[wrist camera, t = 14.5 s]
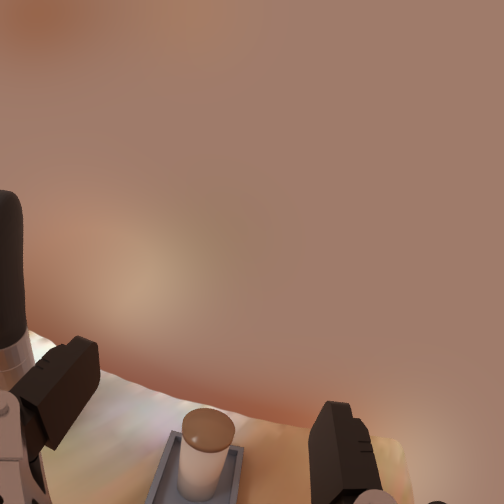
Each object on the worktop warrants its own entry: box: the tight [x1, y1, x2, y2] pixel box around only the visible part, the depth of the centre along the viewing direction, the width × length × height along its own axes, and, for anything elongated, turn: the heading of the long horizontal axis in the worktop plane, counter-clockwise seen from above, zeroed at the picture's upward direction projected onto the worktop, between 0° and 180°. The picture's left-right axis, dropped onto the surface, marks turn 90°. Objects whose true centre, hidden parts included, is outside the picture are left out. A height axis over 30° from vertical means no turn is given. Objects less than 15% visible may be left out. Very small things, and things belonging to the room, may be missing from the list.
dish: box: [145, 431, 244, 504], centre depth 31 cm, size 11×16×2 cm
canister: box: [177, 408, 235, 503], centre depth 29 cm, size 5×5×14 cm
